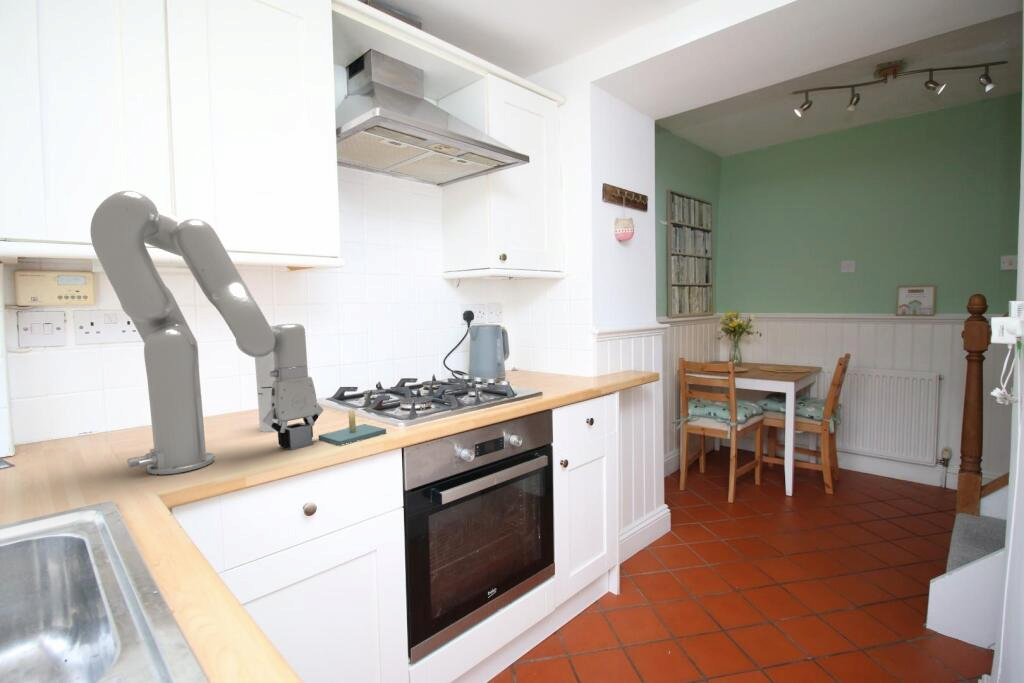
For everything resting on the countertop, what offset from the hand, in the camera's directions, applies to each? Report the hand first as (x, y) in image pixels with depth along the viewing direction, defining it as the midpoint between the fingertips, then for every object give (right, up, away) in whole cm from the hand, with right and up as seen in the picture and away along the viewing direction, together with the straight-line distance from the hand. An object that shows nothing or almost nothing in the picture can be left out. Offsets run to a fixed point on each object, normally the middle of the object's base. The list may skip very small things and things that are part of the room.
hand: (296, 443), depth 123 cm
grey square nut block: (0, 0, 0) cm, 0 cm away
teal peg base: (+12, 0, +7) cm, 14 cm away
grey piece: (-15, 0, +18) cm, 24 cm away
